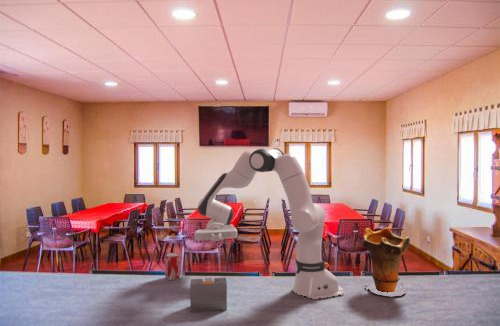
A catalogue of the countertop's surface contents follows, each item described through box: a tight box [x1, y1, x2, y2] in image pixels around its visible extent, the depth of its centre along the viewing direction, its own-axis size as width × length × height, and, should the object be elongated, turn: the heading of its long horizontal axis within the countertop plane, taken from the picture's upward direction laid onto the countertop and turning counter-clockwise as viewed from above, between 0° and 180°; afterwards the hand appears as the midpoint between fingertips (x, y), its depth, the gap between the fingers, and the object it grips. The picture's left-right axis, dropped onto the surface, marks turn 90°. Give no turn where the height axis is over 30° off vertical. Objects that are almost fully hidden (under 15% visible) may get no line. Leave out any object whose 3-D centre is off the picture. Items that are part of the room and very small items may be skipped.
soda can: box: [164, 252, 181, 281], centre depth 181 cm, size 7×7×12 cm
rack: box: [189, 277, 228, 313], centre depth 147 cm, size 14×6×12 cm, turn 98°
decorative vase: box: [362, 226, 410, 293], centre depth 166 cm, size 21×23×28 cm
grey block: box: [204, 277, 213, 281], centre depth 150 cm, size 3×8×10 cm, turn 8°
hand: (216, 237), depth 167 cm, fingers closed
